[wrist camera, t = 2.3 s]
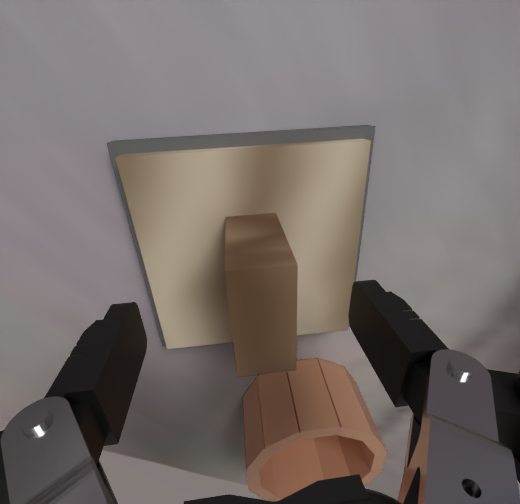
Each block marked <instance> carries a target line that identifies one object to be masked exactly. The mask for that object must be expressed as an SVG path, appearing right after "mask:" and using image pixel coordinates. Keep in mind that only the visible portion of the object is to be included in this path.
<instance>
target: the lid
mask: <svg viewBox="0 0 520 504" xmlns="http://www.w3.org/2000/svg"><path fill="white" fill-rule="evenodd" d="M370 144H371V141H370V140H367V139H350V140H335V141H319V142H304V143H288V144H273V145H258V146H242V147H227V148H211V149H196V150H180V151H165V152H150V153H134V154H121V155H119V156H117V157H115V158H116V162H117V166H118V169H119V173H120V177H121V180H122V184H123V188H124V191H125V195H126V199H127V203H128V206H129V210H130V214H131V217H132V221H133V225H134V228H135V232H136V236H137V239H138V243H139V247H140V251H141V254H142V258H143V262H144V265H145V269H146V273H147V276H148V280H149V284H150V287H151V291H152V295H153V299H154V302H155V306H156V310H157V313H158V317H159V321H160V324H161V328H162V332H163V335H164V339H165V343H166V347H167V349H174V348H183V347H192V346H202V345H211V344H221V343H230V342H233V345H234V353H235V361H236V369H237V377H243V376H252V375H261V374H270V373H278V372H287V371H296V353H297V335H305V334H315V333H324V332H334V331H343V330H348V325H349V318H348V313H349V306H350V298H351V291H352V285H353V283H354V276H355V268H356V259H357V251H358V243H359V235H360V226H361V218H362V210H363V202H364V193H365V185H366V177H367V169H368V160H369V152H370Z"/></svg>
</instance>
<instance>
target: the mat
mask: <svg viewBox="0 0 520 504" xmlns="http://www.w3.org/2000/svg"><path fill="white" fill-rule="evenodd" d="M374 133H375V126H371V125H360V126H344V127H328V128H312V129H296V130H280V131H264V132H248V133H231V134H215V135H199V136H183V137H167V138H151V139H135V140H119V141H111V142H108V143H107V146H108V150H109V154H110V157H111V161H112V164H113V168H114V172H115V175H116V179H117V182H118V186H119V190H120V193H121V197H122V200H123V204H124V208H125V211H126V215H127V218H128V222H129V225H130V229H131V233H132V236H133V240H134V243H135V247H136V251H137V254H138V258H139V261H140V265H141V269H142V272H143V276H144V279H145V283H146V287H147V290H148V294H149V297H150V301H151V305H152V308H153V312H154V315H155V319H156V323H157V326H158V330H159V333H160V337H161V341H162V344H163V346H166V343H165V339H164V335H163V332H162V328H161V324H160V321H159V317H158V313H157V310H156V306H155V302H154V299H153V295H152V291H151V287H150V284H149V280H148V276H147V273H146V269H145V265H144V262H143V258H142V254H141V251H140V247H139V243H138V239H137V236H136V232H135V228H134V225H133V221H132V217H131V214H130V210H129V206H128V203H127V199H126V195H125V191H124V188H123V184H122V180H121V177H120V173H119V169H118V166H117V162H116V158H115V157H117V156H119V155H121V154H134V153H150V152H165V151H180V150H196V149H211V148H227V147H242V146H258V145H273V144H288V143H304V142H319V141H335V140H350V139H367V140H370V141H371V144H370V152H369V160H368V169H367V177H366V185H365V193H364V202H363V210H362V218H361V226H360V235H359V243H358V251H357V259H356V268H355V276H354V282H356V277H357V269H358V261H359V253H360V245H361V237H362V229H363V221H364V213H365V205H366V197H367V189H368V181H369V173H370V165H371V157H372V149H373V141H374ZM348 327H350V324H349V325H348Z"/></svg>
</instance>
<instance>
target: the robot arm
mask: <svg viewBox="0 0 520 504" xmlns="http://www.w3.org/2000/svg"><path fill="white" fill-rule="evenodd" d="M348 318H349V324H350V327H351V330H352V332H353V333H354V335H355V337H356V339H357V340H358V342H359V344H360V346H361V348H362V349H363V351H364V353H365V355H366V356H367V358H368V360H369V362H370V363H371V365H372V367H373V369H374V370H375V372H376V374H377V376H378V378H379V379H380V381H381V383H382V385H383V386H384V388H385V390H386V392H387V393H388V395H389V397H390V399H391V400H392V402H393V404H394V406H395V407H401V406H408V405H409V407H410V408H411V410H412V412H413V414H412V417H411V423H410V431H409V438H408V445H407V453H406V460H405V467H404V474H403V479H402V484H401V488H400V492H399V497H398V501H397V500H395V499H393V498H391V497H389V496H387V495H385V494H382V493H380V492H376V491H373V490H370V489H365V487H364V485H363V482H362V479H361V477H360V474H357V475H350V476H344V477H338V478H331V479H325V480H318V481H316V482H314V483H312V484H310V485H309V486H307V487H305V488H303V489H301V490H299V491H297V492H295V493H293V494H291V495H289V496H287V497H285V498H283V499H281V500H279V501H266V500H260V499H253V498H247V497H241V496H235V495H222V496H216V497H210V498H203V499H197V500H190V501H184V504H520V494H519V488H518V482H517V480H518V481H519V483H520V371H519V373H518V374H515V373H508V372H501V371H494V370H488V369H486V368H485V367H484V366H483V365H482V364H481V363H480V362H479V361H477V360H476V359H475V358H473V357H471V356H469V355H467V354H465V353H462V352H460V351H456V350H450V349H448V348H447V347H446V346H445V344H444V343H443V342H442V341H441V340H440V339H439V338H438V337H437V336H436V335H435V334H434V332H433V331H432V330H431V329H430V328H429V327H428V326H427V325H426V324H425V323H424V322H423V320H422V319H420V318H419V316H418V315H417V314H416V313H415V312H414V311H412V308H411V307H410V306H409V305H408V304H407V303H406V302H405V301H404V300H403V299H402V298H400V297H398V296H397V295H395V294H394V293H392V292H386V291H385V290H384V289H383V288H382V287H381V286H380V284H379V283H378V282H377V281H376V280H367V281H357V282H354V283H353V285H352V291H351V298H350V306H349V313H348ZM146 348H147V338H146V333H145V329H144V326H143V322H142V319H141V315H140V312H139V308H138V306H137V304H136V303H135V302H132V303H122V304H113V305H111V306H110V308H109V310H108V312H107V314H106V315H105V317H104V319H103V320H96V321H95V322H94V323H93V324H92V325H91V326H90V327H89V328H87V329H86V330H85V331H84V332H83V334H82V336H81V337H80V339H79V341H78V342H77V346H75V347H74V349H73V351H72V352H71V354H70V357H68V359H67V361H66V362H65V364H64V366H63V367H62V369H61V371H60V372H59V374H58V376H57V377H56V379H55V381H54V382H53V384H52V386H51V387H50V389H49V391H48V392H47V394H46V396H45V397H44V399H41V400H38V401H36V402H34V403H32V404H30V405H29V406H27V407H26V408H24V409H23V410H21V411H20V412H19V413H18V414H17V415H16V416H15V417H14V418H13V419H12V420H11V421H10V422H9V423H8V425H7V426H6V428H5V429H4V430H3V431H0V504H118V503H117V500H116V498H115V496H114V493H113V491H112V489H111V486H110V484H109V482H108V479H107V477H106V475H105V472H104V470H103V468H102V465H101V463H100V461H99V458H100V455H101V452H102V449H103V446H106V445H114V444H118V442H119V439H120V436H121V432H122V429H123V426H124V423H125V419H126V416H127V413H128V409H129V406H130V403H131V399H132V396H133V393H134V390H135V386H136V383H137V380H138V376H139V373H140V370H141V366H142V363H143V360H144V356H145V353H146Z"/></svg>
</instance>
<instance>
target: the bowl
mask: <svg viewBox="0 0 520 504" xmlns="http://www.w3.org/2000/svg"><path fill="white" fill-rule="evenodd" d="M243 414H244V435H245V456H246V473H247V481H248V487H249V490H250V491H251V492H253V493H254V494H256V495H257V496H259V497H260V498H262V499H263V500H266V501H279V500H281V499H283V498H285V497H287V496H289V495H291V494H293V493H295V492H297V491H299V490H301V489H303V488H305V487H307V486H309V485H310V484H312V483H314V482H316V481H318V480H325V479H331V478H338V477H344V476H350V475H357V474H360V477H361V479H362V482H363V485H364V486H366V485H367V484H368V483H369V482H370V481H371V480H373V479H374V478H375V477H376V476H377V475H378V474H380V473H381V471H382V469H383V466H384V462H385V458H386V455H387V449H386V447H385V445H384V443H383V441H382V438H381V436H380V434H379V432H378V430H377V427H376V425H375V423H374V421H373V418H372V416H371V414H370V412H369V410H368V407H367V405H366V403H365V401H364V399H363V396H362V394H361V392H360V390H359V388H358V385H357V383H356V382H355V380H354V379H353V378H352V376H351V375H350V374H349V372H348V371H347V370H346V368H345V367H344V366H340V365H337V364H334V363H331V362H328V361H325V360H321V359H317V358H315V359H306V360H297V361H296V371H287V372H278V373H270V374H261V375H259V376H257V377H256V379H255V380H254V381H253V383H252V384H251V386H250V387H249V389H248V390H247V392H246V393H245V394H244V396H243Z"/></svg>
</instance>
